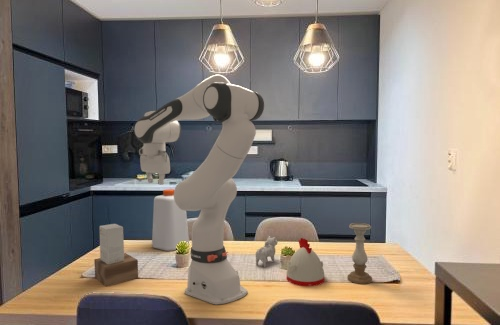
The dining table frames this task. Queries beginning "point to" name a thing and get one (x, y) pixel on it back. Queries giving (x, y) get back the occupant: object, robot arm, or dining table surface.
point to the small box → (111, 243)
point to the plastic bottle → (168, 222)
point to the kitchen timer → (305, 266)
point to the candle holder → (359, 255)
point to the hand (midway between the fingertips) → (155, 183)
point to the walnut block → (116, 270)
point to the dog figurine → (266, 251)
